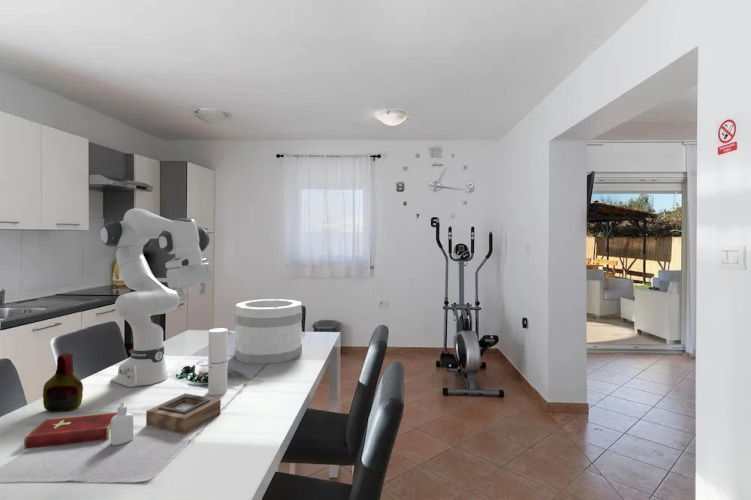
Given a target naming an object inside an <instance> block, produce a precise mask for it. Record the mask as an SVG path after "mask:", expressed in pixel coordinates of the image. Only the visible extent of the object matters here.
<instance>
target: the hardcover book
mask: <svg viewBox="0 0 751 500" xmlns="http://www.w3.org/2000/svg"><path fill="white" fill-rule="evenodd" d="M116 415H118V414H117V412H116V411H115V412H109V413H108V412H106V413H97V414H86V415H76V416H66V417H64V416H63V417H55V418H45V419H44V420H43V421H42V422H40V423H39V424H38V425H37V426H36V427H34V428H33V429H32V430H31V431H30V432H29V433H27V434H26V435H25V436H24V443H23V444H24V445H23V446H24V450H26V449H35V448H43V447H44V448H45V447H51V446H52V447H53V446H61V445H62V446H63V445H71V444H72V445H73V444H78V443H88V442H89V443H90V442H98V441H107V440H109V439H110V437H111V419H112V418H113V417H114V416H116Z"/></svg>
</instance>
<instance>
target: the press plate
mask: <svg viewBox="0 0 751 500" xmlns="http://www.w3.org/2000/svg"><path fill="white" fill-rule="evenodd" d="M195 405H197V404H194V403H189V402H183V403H181V404H179V405H177V406H175V407H173V408H174V409H179V410H184V411H185V410H187V409H189V408H191V407H193V406H195Z"/></svg>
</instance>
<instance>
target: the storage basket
mask: <svg viewBox="0 0 751 500" xmlns="http://www.w3.org/2000/svg"><path fill="white" fill-rule="evenodd" d="M234 307H235V312H234V322H235V324H234V328H235V329H234V330H235V331H234V340H235V341H234V342H235V343H234V345H235V347H234V357H235V358H236V360H237V361H238V362H243V363H247V364H253V365H255V364H257V365H258V364H260V365H271V364H278V363H284V362H285V363H286V362H289V361H291V360H293V359H294V360H295V359H296V358H299V357H300V356H301V354H302V352H303V344H302V336H303V327H302V321H303V310H302V307H303V306H302V302H301V301H299V300H295V299H282V298H281V299H279V298H271V299H270V298H269V299H266V298H264V299H254V300H252V299H251V300H245V301H241V302H238V303H236V304H235V306H234Z"/></svg>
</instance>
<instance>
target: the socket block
mask: <svg viewBox="0 0 751 500" xmlns="http://www.w3.org/2000/svg"><path fill="white" fill-rule="evenodd" d="M221 401H222V400H221V398H220V399H219V398H213V397H207V396H204V395H203V396H202V395H195V394H191V393H186V392H185V393H183V394H180V395H178V396H176V397H174V398H171V399H169V400H167V401H165V402H162V403H160V404H158V405H157V406H154V407H151V408H149V409H148V410H146V411H145V412H146V413H145V414H146V415H145V416H146V417H145V422H146V424H145V426H146V427H149V428H153V429H158V430H163V431H167V432H171V433H177V434H181V435H186V434H188V433H189V432H192V431H193V430H195V429H197V428H198V427H200V426H202V425H204V424H205V423H207V422H209V421H210V420H212V419H214V418H216V417H217V416H219V415H221ZM183 402H189V403H194V404H197V405H195V406H193V407H191V408H189V409H187V410H185V411H184V410H179V409H174V408H173V407H175V406H177V405H179V404H181V403H183Z"/></svg>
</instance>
